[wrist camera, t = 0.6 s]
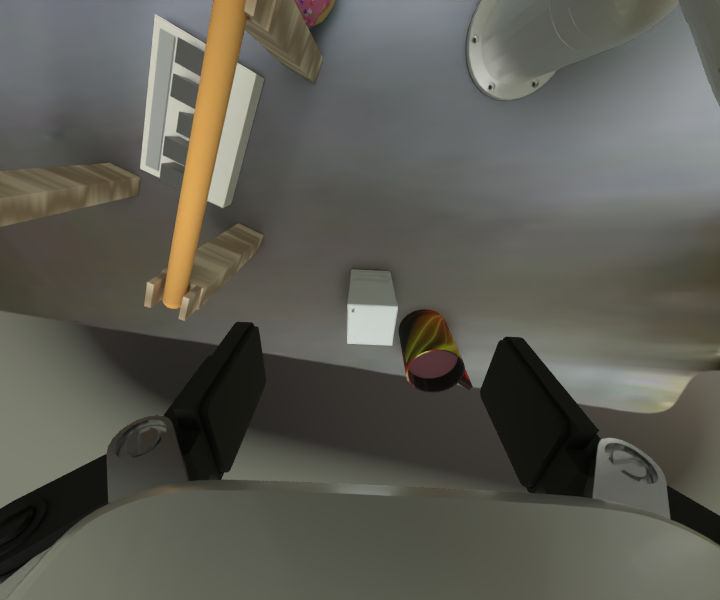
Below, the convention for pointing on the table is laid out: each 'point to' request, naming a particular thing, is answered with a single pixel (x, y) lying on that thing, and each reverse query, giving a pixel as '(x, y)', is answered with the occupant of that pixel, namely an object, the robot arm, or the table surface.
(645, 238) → the table surface
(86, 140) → the table surface
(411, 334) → the mug
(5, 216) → the wooden post rack
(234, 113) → the breaker panel
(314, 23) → the cupcake
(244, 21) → the orange cylindrical bar
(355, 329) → the supplement box
